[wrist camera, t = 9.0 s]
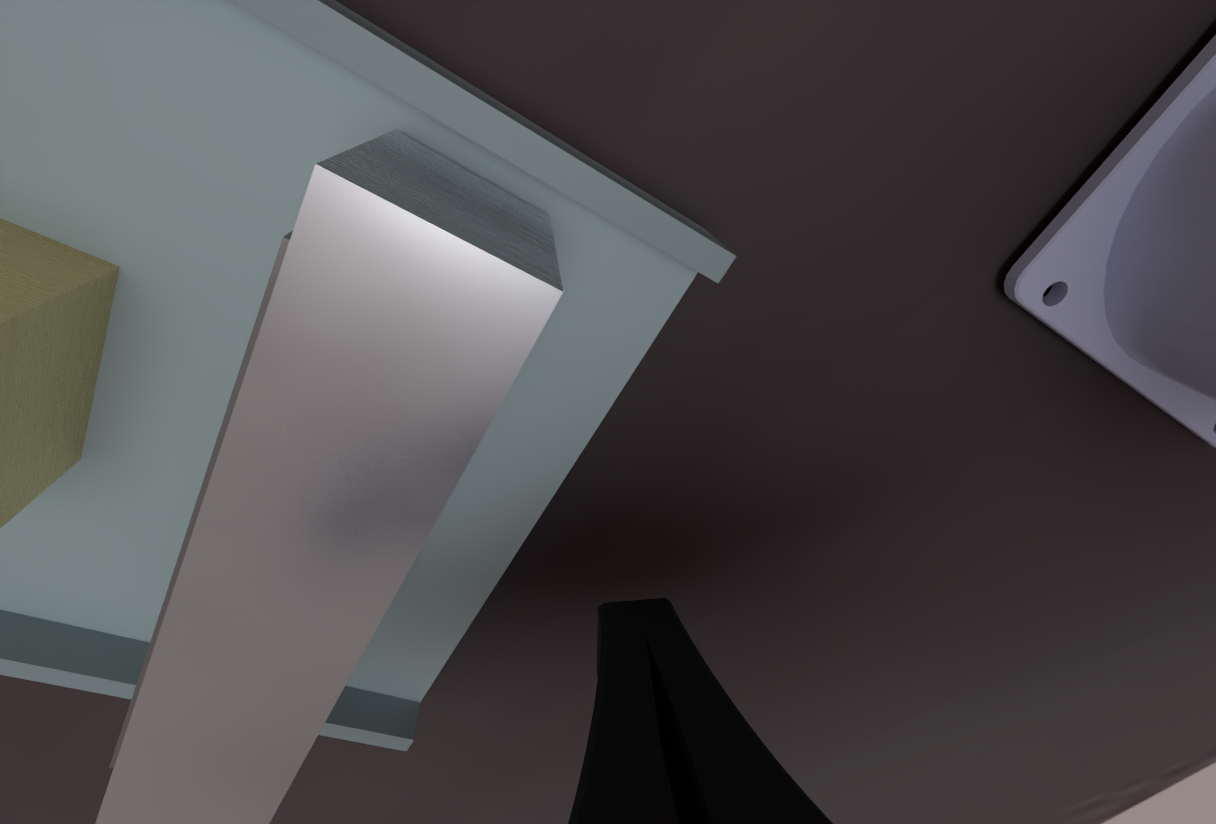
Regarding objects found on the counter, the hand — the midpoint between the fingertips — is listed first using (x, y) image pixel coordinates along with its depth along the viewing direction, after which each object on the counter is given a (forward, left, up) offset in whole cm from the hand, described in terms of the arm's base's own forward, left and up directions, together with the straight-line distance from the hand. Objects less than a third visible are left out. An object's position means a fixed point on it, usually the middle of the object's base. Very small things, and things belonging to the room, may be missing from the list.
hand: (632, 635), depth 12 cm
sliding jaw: (+6, 0, -2) cm, 7 cm away
